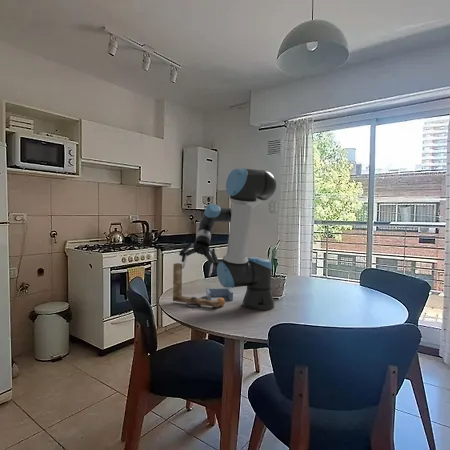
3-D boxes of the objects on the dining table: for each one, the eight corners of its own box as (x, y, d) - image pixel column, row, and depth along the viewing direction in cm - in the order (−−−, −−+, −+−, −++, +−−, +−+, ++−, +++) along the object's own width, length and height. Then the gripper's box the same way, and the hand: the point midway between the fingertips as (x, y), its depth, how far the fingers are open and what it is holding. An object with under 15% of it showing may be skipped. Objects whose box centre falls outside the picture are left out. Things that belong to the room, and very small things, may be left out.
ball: (226, 306, 163) (226, 297, 163) (220, 307, 160) (220, 299, 160) (220, 304, 166) (220, 296, 166) (214, 306, 163) (214, 297, 163)
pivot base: (203, 304, 165) (203, 302, 165) (196, 308, 159) (196, 306, 159) (190, 302, 168) (190, 301, 168) (183, 306, 162) (183, 304, 162)
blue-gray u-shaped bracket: (232, 300, 173) (233, 292, 173) (208, 301, 171) (208, 293, 171) (229, 295, 183) (229, 288, 183) (206, 295, 181) (206, 288, 181)
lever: (220, 305, 160) (220, 267, 159) (217, 307, 157) (218, 268, 156) (176, 299, 169) (176, 263, 168) (172, 300, 166) (173, 264, 165)
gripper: (223, 251, 185) (218, 282, 169) (178, 237, 182) (170, 268, 166) (227, 242, 180) (223, 273, 165) (182, 228, 177) (173, 258, 161)
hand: (196, 270), depth 165 cm, fingers open, 13 cm apart
